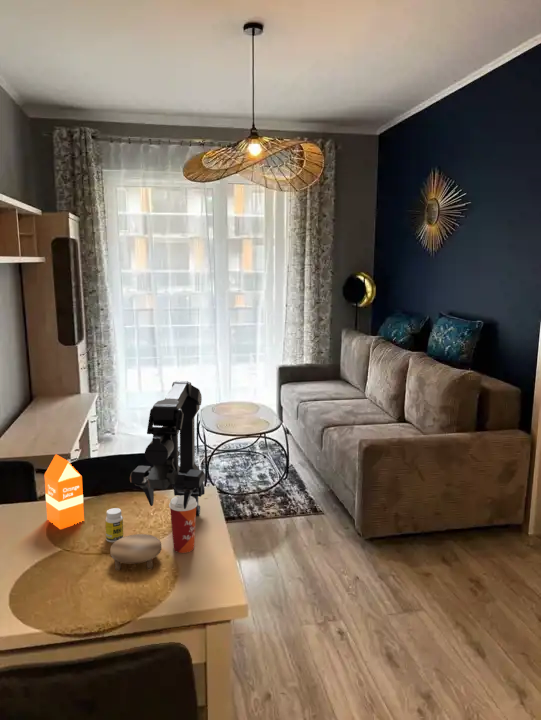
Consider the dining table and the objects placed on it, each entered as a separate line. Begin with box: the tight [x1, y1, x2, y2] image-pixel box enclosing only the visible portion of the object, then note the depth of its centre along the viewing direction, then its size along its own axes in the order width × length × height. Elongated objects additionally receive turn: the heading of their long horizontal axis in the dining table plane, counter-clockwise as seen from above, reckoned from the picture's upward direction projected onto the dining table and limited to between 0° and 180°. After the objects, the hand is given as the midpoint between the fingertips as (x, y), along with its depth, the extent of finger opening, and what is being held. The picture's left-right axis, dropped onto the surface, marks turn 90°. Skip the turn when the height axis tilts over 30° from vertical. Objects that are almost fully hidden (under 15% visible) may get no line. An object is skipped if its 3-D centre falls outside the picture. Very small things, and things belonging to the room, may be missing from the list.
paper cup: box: [168, 495, 197, 554], centre depth 151 cm, size 8×8×14 cm
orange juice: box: [43, 454, 85, 530], centre depth 166 cm, size 8×9×20 cm
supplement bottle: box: [105, 507, 124, 543], centre depth 156 cm, size 5×5×8 cm
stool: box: [109, 533, 162, 571], centre depth 146 cm, size 13×13×4 cm
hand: (168, 506), depth 146 cm, fingers open, 9 cm apart
